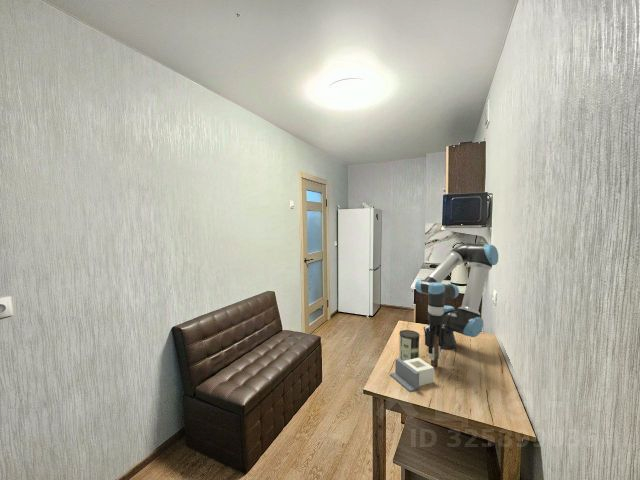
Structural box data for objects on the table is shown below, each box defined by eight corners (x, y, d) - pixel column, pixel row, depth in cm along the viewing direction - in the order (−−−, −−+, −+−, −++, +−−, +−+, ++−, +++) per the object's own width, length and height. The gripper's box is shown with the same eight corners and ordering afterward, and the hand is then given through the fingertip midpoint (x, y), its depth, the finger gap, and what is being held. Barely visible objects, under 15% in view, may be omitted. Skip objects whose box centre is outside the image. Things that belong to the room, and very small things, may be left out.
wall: (398, 373, 132) (399, 358, 131) (418, 389, 119) (419, 372, 118) (390, 375, 130) (390, 360, 129) (409, 392, 117) (410, 375, 116)
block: (418, 371, 133) (418, 357, 133) (433, 382, 124) (434, 367, 124) (401, 375, 130) (402, 361, 129) (416, 386, 120) (416, 371, 120)
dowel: (434, 364, 140) (435, 334, 139) (438, 367, 137) (440, 336, 136) (429, 365, 139) (430, 335, 138) (434, 368, 136) (435, 337, 135)
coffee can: (417, 355, 150) (417, 330, 149) (420, 364, 140) (421, 338, 139) (398, 353, 152) (398, 329, 151) (399, 362, 142) (400, 336, 141)
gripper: (442, 309, 143) (440, 352, 145) (417, 312, 137) (416, 357, 139) (453, 313, 136) (452, 359, 138) (428, 317, 130) (427, 364, 132)
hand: (434, 358), depth 138 cm, fingers closed on dowel, 3 cm apart
